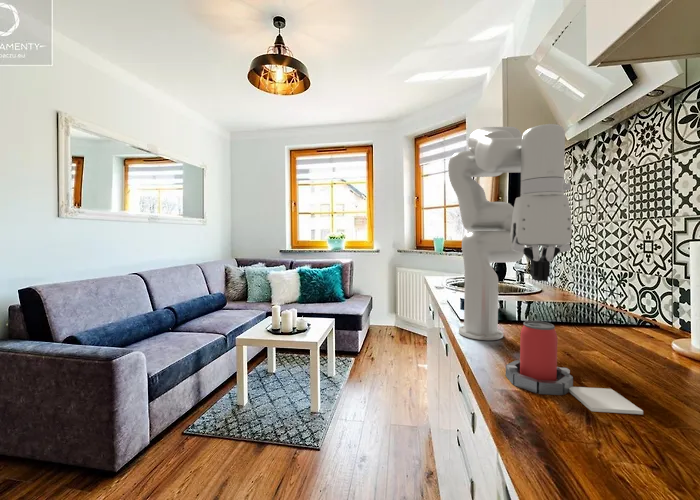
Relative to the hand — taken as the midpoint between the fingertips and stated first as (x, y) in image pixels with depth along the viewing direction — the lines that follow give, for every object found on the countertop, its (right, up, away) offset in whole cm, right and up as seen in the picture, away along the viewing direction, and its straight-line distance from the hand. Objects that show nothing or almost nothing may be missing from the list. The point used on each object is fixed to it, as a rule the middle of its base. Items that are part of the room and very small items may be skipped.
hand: (539, 280), depth 66 cm
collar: (0, -21, +1) cm, 21 cm away
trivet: (+7, -21, -7) cm, 24 cm away
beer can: (0, -21, +1) cm, 21 cm away
